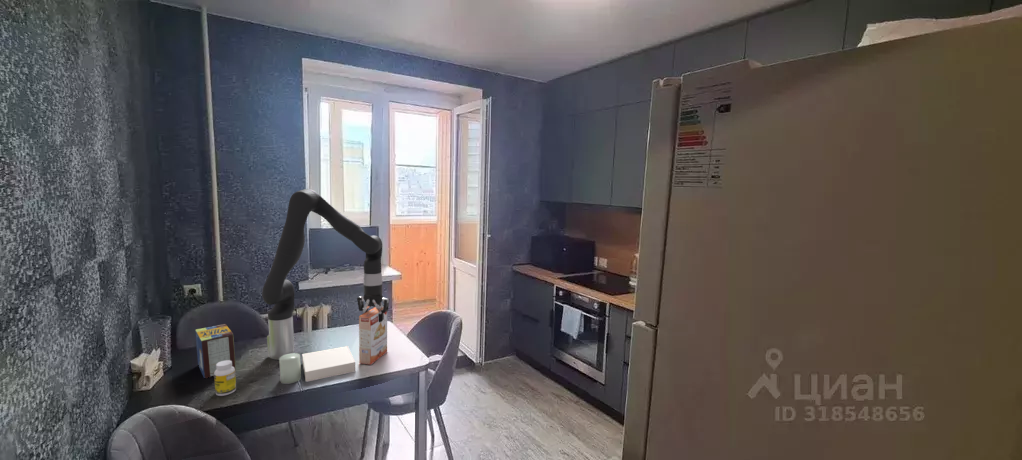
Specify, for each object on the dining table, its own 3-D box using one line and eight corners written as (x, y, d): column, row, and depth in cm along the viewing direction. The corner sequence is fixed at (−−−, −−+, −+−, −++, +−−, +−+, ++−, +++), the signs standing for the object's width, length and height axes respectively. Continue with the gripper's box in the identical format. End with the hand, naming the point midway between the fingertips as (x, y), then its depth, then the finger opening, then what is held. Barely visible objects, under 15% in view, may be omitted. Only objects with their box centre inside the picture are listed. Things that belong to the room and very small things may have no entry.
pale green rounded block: (276, 382, 154) (274, 360, 153) (289, 374, 161) (287, 352, 160) (292, 384, 153) (291, 361, 152) (305, 375, 160) (304, 354, 159)
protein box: (228, 358, 174) (225, 323, 172) (236, 370, 163) (233, 333, 161) (197, 365, 167) (194, 329, 165) (203, 379, 156) (200, 340, 154)
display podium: (305, 381, 155) (305, 371, 155) (302, 363, 171) (302, 354, 170) (355, 371, 164) (355, 362, 164) (348, 354, 180) (347, 345, 179)
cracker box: (371, 365, 170) (370, 317, 167) (358, 364, 171) (357, 315, 168) (388, 351, 183) (387, 306, 181) (376, 350, 184) (375, 305, 182)
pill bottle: (211, 394, 145) (209, 364, 144) (228, 386, 151) (226, 357, 150) (223, 398, 143) (221, 368, 142) (240, 389, 149) (238, 360, 147)
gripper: (352, 284, 170) (353, 322, 172) (384, 286, 168) (385, 325, 170) (361, 279, 178) (362, 316, 180) (392, 281, 175) (393, 319, 177)
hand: (373, 320), depth 175 cm, fingers closed on cracker box, 6 cm apart
